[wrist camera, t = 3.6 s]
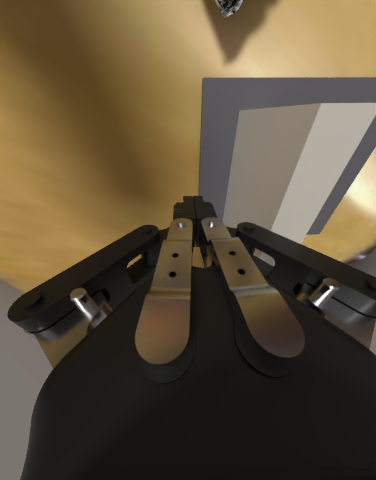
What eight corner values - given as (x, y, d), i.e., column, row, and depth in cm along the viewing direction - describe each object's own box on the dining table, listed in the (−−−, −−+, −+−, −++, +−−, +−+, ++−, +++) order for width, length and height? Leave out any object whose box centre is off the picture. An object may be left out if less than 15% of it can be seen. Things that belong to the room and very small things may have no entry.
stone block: (221, 225, 21) (247, 289, 13) (239, 110, 14) (321, 102, 6) (240, 224, 21) (276, 288, 13) (268, 110, 14) (386, 102, 6)
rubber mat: (197, 236, 23) (197, 237, 22) (202, 78, 13) (203, 77, 12) (317, 232, 23) (319, 233, 23) (414, 78, 13) (420, 77, 13)
